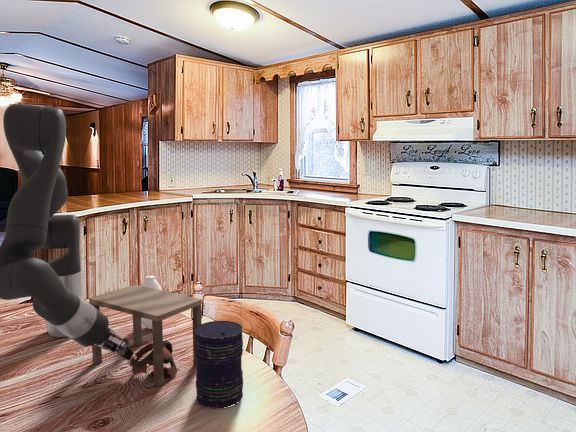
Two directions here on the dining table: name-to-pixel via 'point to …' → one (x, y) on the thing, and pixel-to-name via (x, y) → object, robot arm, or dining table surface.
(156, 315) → the wooden side table
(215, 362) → the dark blue cylinder
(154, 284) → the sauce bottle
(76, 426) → the dining table surface
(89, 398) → the dining table surface
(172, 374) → the pottery mug
